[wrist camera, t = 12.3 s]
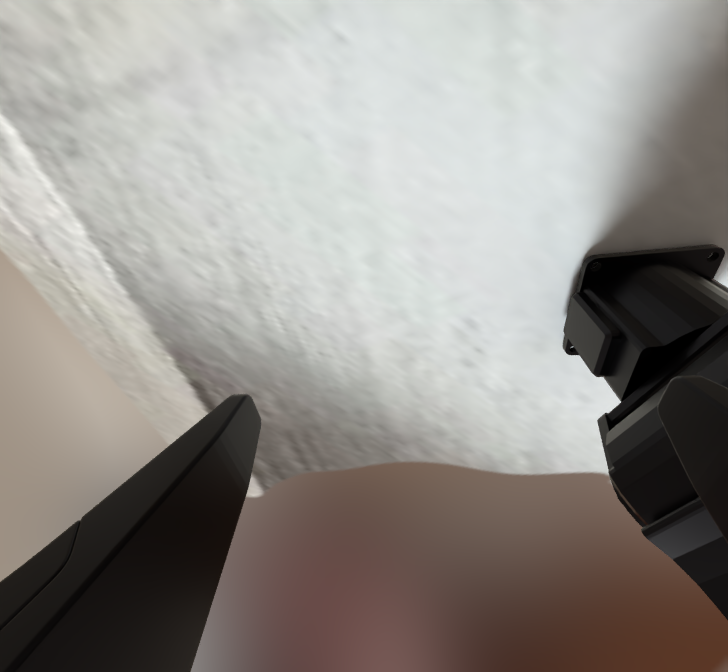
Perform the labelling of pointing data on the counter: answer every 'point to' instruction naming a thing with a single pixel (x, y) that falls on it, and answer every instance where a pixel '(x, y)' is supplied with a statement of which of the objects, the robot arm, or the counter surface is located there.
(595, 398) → the counter surface
